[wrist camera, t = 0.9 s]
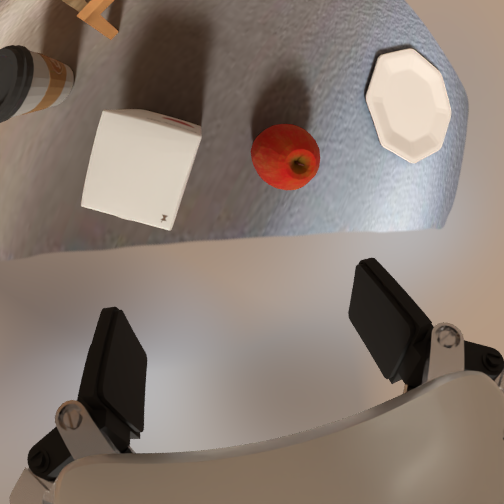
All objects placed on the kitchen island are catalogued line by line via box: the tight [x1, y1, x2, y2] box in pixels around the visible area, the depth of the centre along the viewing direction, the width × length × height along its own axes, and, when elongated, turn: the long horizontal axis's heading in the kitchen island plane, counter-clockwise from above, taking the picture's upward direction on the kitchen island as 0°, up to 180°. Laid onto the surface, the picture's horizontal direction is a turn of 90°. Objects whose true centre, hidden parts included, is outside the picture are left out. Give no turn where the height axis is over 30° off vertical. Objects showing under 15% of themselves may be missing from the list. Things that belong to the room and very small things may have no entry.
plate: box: [365, 48, 451, 163], centre depth 34 cm, size 20×20×2 cm
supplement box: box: [81, 109, 202, 230], centre depth 26 cm, size 9×9×15 cm
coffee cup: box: [0, 45, 74, 123], centre depth 18 cm, size 8×8×15 cm
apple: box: [251, 124, 320, 190], centre depth 31 cm, size 8×8×11 cm
